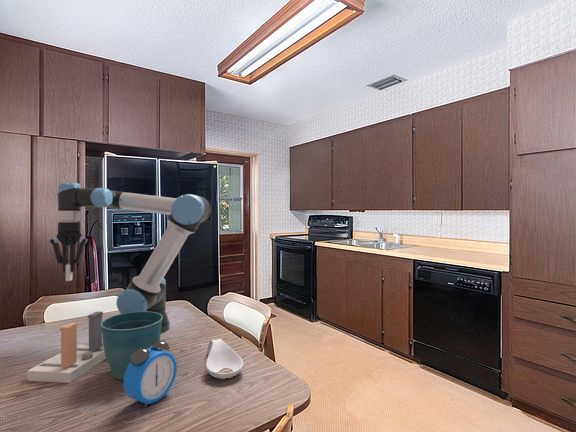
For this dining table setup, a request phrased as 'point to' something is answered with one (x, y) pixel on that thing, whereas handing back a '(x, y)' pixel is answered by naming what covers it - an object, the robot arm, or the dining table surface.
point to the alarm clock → (150, 373)
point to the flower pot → (128, 337)
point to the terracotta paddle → (68, 344)
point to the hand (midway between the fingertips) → (69, 280)
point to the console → (56, 373)
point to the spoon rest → (222, 359)
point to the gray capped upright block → (95, 331)
